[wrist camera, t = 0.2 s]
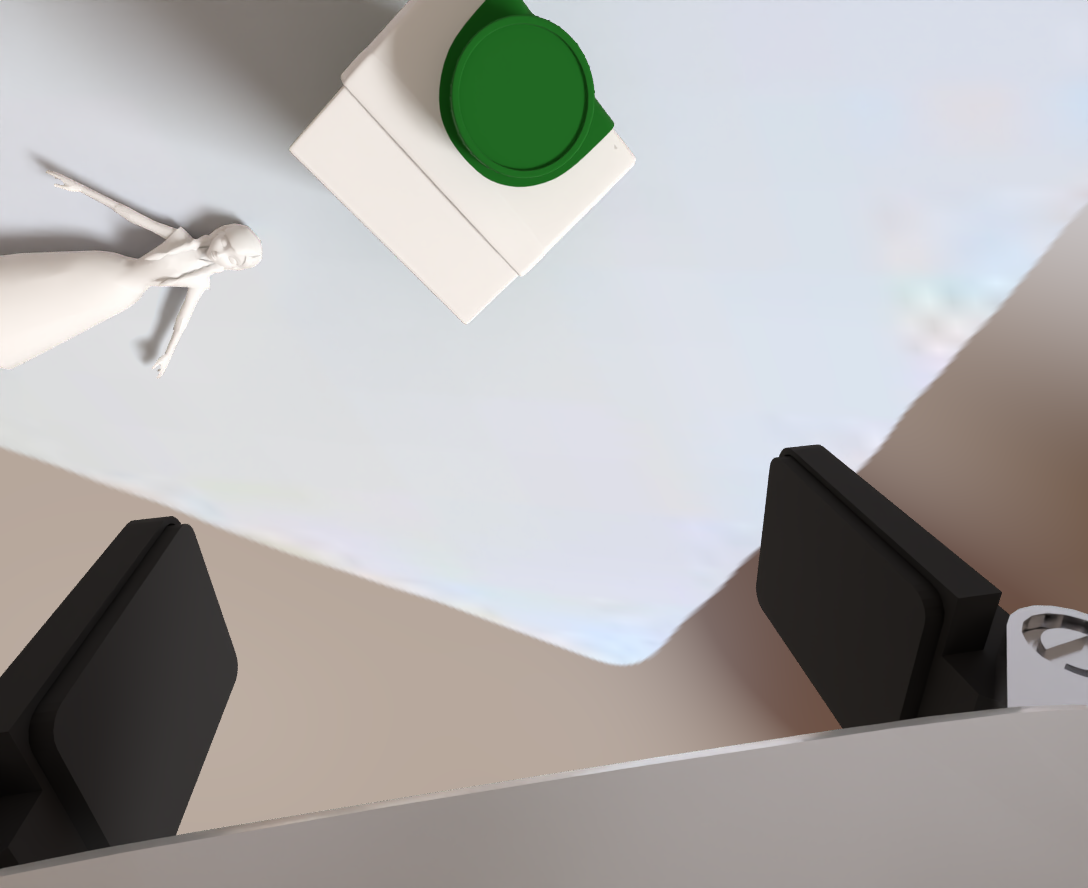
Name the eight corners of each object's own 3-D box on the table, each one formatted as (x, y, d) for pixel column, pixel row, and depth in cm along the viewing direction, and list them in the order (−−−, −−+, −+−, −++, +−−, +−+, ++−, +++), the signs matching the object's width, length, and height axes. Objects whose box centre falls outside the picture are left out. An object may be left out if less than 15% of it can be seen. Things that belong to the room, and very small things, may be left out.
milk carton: (568, 153, 37) (684, 165, 19) (456, 264, 39) (465, 372, 21) (458, 15, 33) (472, -129, 15) (340, 144, 35) (230, 150, 17)
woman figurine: (-188, 222, 30) (202, 126, 31) (-119, 214, 34) (224, 129, 35) (-32, 441, 35) (296, 350, 36) (12, 411, 39) (306, 330, 40)
